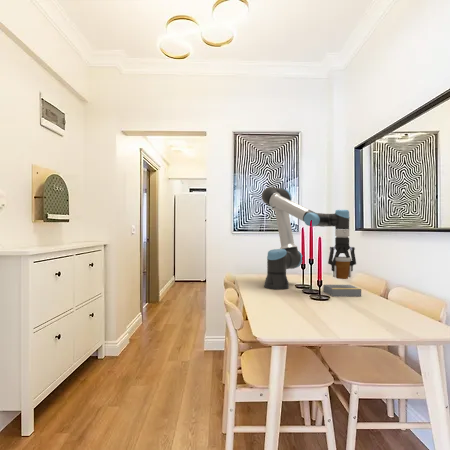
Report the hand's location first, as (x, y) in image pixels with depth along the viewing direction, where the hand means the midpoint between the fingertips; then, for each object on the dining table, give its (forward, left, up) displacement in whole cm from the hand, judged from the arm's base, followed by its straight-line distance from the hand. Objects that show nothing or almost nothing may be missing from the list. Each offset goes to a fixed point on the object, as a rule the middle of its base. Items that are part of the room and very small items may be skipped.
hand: (342, 277), depth 186 cm
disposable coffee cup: (0, 0, -1) cm, 1 cm away
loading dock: (0, 0, -10) cm, 10 cm away
